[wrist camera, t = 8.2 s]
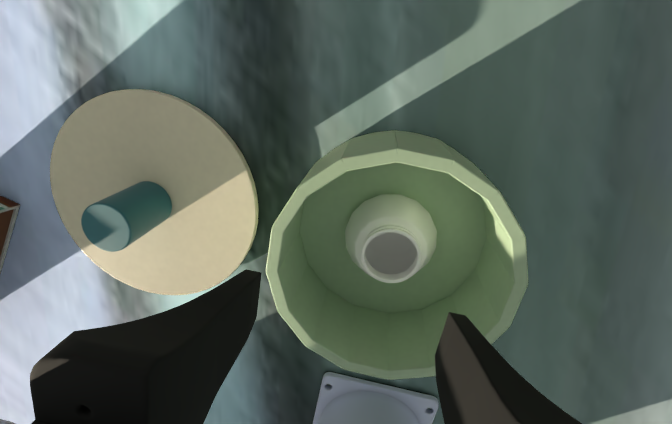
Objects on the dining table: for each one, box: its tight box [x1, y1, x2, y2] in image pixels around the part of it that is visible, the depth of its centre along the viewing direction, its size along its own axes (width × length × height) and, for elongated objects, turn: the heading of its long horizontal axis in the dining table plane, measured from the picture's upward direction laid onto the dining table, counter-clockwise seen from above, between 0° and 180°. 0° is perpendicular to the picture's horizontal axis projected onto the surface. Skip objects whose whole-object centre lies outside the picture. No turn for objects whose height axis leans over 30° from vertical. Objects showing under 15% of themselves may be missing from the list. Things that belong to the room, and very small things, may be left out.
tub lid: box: [50, 89, 259, 295], centre depth 21 cm, size 13×13×5 cm
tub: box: [266, 130, 528, 380], centre depth 20 cm, size 12×12×6 cm
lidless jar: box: [345, 194, 437, 283], centre depth 21 cm, size 5×3×5 cm
